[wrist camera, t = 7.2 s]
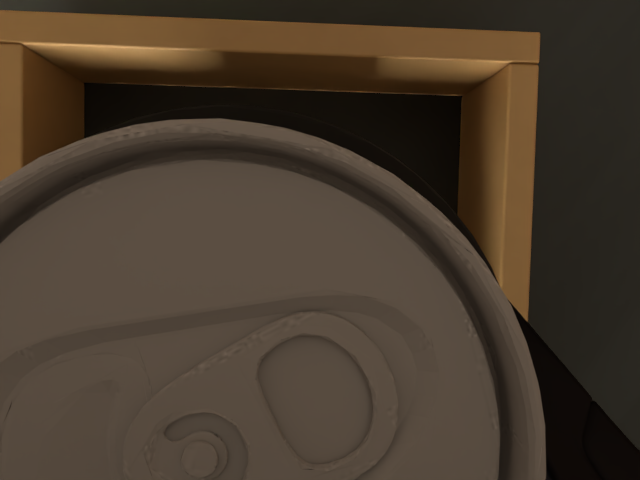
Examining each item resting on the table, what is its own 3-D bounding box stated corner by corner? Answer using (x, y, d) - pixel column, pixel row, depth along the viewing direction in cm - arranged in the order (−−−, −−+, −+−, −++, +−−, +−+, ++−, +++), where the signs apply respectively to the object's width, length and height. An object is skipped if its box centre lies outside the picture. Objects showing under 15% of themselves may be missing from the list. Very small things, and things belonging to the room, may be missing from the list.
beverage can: (121, 239, 16) (-372, 290, 4) (319, 141, 16) (390, -78, 4) (221, 433, 17) (31, 994, 5) (414, 335, 17) (722, 626, 5)
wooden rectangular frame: (467, 566, 19) (514, 663, 15) (58, 570, 18) (-9, 672, 14) (486, 72, 18) (541, 31, 14) (59, 56, 17) (-13, 8, 13)
